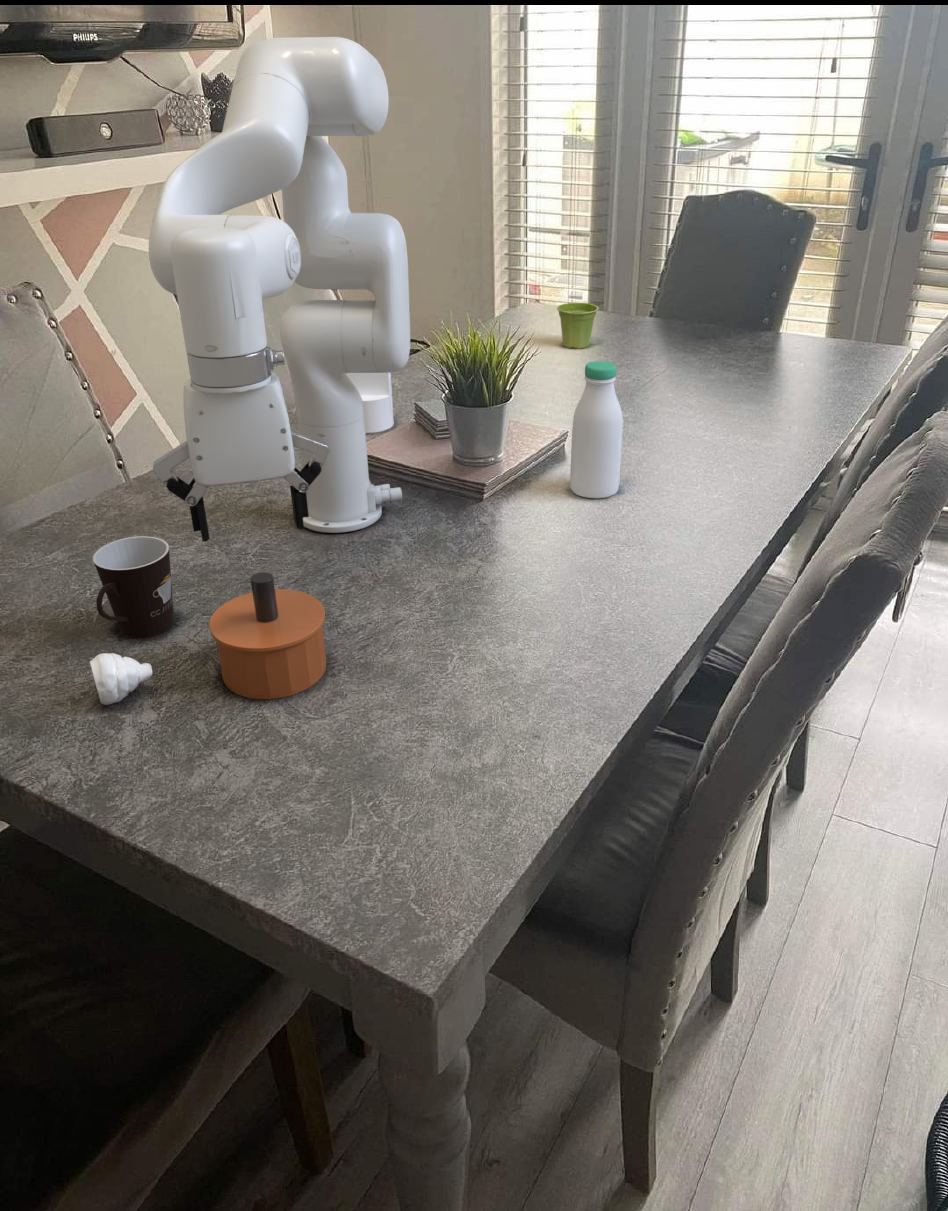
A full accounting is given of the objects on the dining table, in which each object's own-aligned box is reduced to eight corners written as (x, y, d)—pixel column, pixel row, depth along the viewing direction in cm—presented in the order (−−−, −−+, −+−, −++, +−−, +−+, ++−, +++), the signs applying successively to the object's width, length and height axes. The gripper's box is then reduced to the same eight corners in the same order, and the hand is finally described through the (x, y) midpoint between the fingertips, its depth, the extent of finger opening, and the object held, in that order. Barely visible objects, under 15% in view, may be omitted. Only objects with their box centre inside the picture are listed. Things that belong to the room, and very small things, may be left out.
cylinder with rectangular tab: (395, 416, 183) (392, 353, 177) (391, 432, 175) (387, 367, 169) (348, 416, 183) (343, 353, 177) (342, 433, 175) (336, 368, 169)
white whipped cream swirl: (161, 699, 105) (152, 658, 102) (104, 715, 103) (93, 673, 100) (151, 674, 109) (142, 634, 106) (96, 689, 107) (85, 647, 104)
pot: (318, 635, 116) (312, 588, 112) (333, 688, 106) (328, 639, 103) (219, 651, 113) (211, 603, 110) (226, 707, 103) (217, 657, 100)
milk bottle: (622, 499, 148) (630, 371, 138) (572, 500, 148) (577, 372, 138) (615, 479, 155) (623, 356, 145) (567, 480, 155) (572, 357, 145)
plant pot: (604, 346, 222) (606, 308, 217) (571, 353, 218) (572, 314, 213) (581, 337, 229) (582, 300, 224) (548, 343, 225) (548, 305, 220)
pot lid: (316, 590, 113) (311, 543, 110) (334, 645, 103) (329, 596, 100) (207, 606, 110) (198, 559, 107) (213, 665, 100) (204, 615, 97)
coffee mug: (156, 599, 124) (141, 529, 119) (197, 621, 119) (183, 549, 114) (74, 638, 116) (54, 565, 111) (114, 662, 111) (96, 587, 106)
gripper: (314, 349, 97) (329, 505, 105) (135, 365, 93) (166, 526, 101) (325, 369, 91) (340, 533, 99) (134, 387, 87) (167, 556, 95)
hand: (252, 529), depth 100 cm, fingers open, 9 cm apart
